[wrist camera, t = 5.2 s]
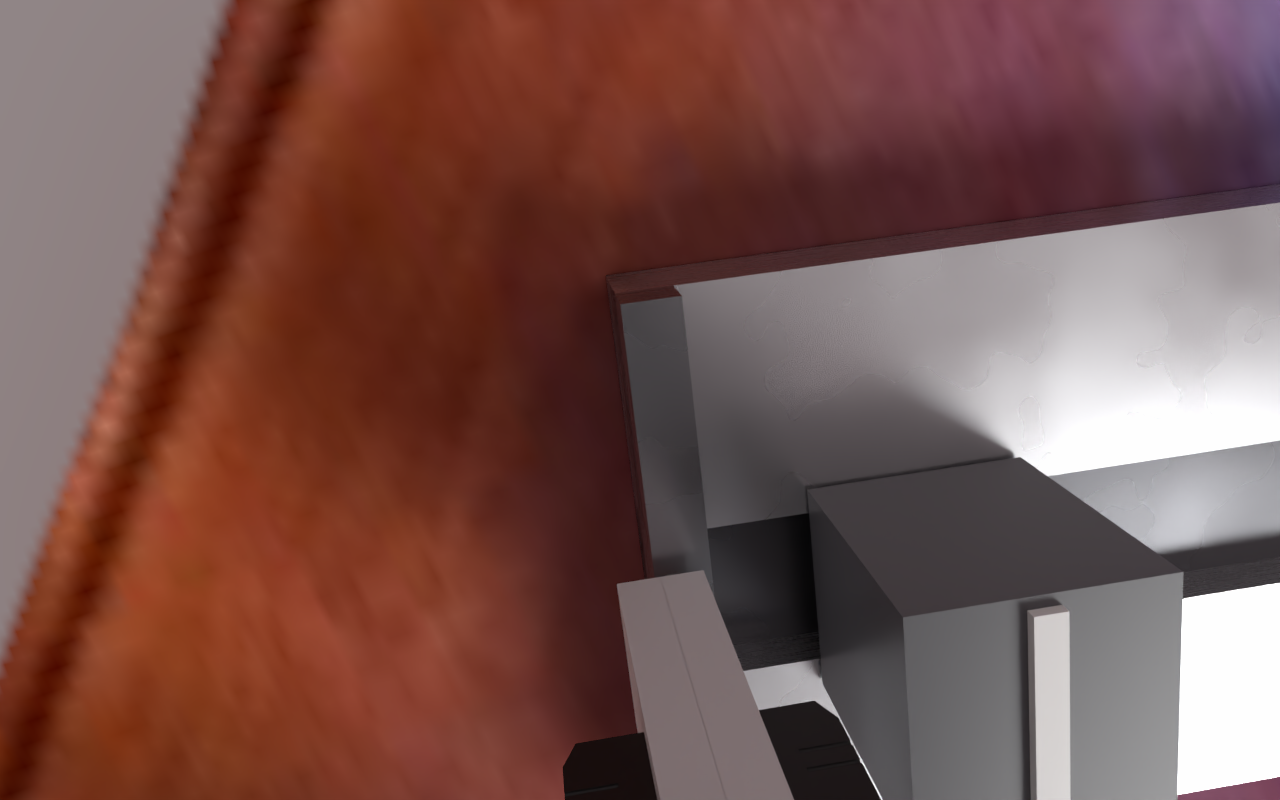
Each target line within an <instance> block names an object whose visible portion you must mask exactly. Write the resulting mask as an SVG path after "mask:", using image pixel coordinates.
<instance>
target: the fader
mask: <svg viewBox="0 0 1280 800" xmlns="http://www.w3.org/2000/svg"><path fill="white" fill-rule="evenodd" d="M807 492H808V505H809V518H810V530H811V543H812V555H813V568H814V581H815V593H816V606H817V619H818V631H819V644H820V656H821V669H822V682H823V686H824V688H825V690H826V692H827V694H828V695H829V697H830V699H831V701H832V703H833V705H834V707H835V709H836V711H837V713H838V715H839V716H840V718H841V720H842V722H843V724H844V726H845V728H846V730H847V732H848V734H849V736H850V738H851V739H852V741H853V743H854V745H855V747H856V749H857V751H858V753H859V755H860V757H861V759H862V760H863V762H864V764H865V766H866V768H867V770H868V772H869V774H870V776H871V778H872V780H873V781H874V783H875V785H876V787H877V789H878V791H879V793H880V795H881V797H882V799H883V800H1177V794H1178V757H1179V720H1180V683H1181V646H1182V609H1183V571H1182V570H1180V569H1179V568H1177V567H1176V566H1174V565H1173V564H1172V563H1170V562H1169V561H1167V560H1166V559H1164V558H1163V557H1162V556H1160V555H1159V554H1157V553H1156V552H1155V551H1153V550H1152V549H1150V548H1149V547H1147V546H1146V545H1145V544H1143V543H1142V542H1140V541H1139V540H1137V539H1136V538H1135V537H1133V536H1132V535H1130V534H1129V533H1128V532H1126V531H1125V530H1123V529H1122V528H1120V527H1119V526H1118V525H1116V524H1115V523H1113V522H1112V521H1110V520H1109V519H1108V518H1106V517H1105V516H1103V515H1102V514H1101V513H1099V512H1098V511H1096V510H1095V509H1093V508H1092V507H1091V506H1089V505H1088V504H1086V503H1085V502H1083V501H1082V500H1081V499H1079V498H1078V497H1076V496H1075V495H1074V494H1072V493H1071V492H1069V491H1068V490H1066V489H1065V488H1064V487H1062V486H1061V485H1059V484H1058V483H1056V482H1055V481H1054V480H1052V479H1051V478H1049V477H1048V476H1047V475H1045V474H1044V473H1042V472H1041V471H1039V470H1038V469H1037V468H1035V467H1034V466H1032V465H1031V464H1029V463H1028V462H1027V461H1025V460H1024V459H1022V458H1021V457H1018V458H1011V459H1004V460H998V461H991V462H985V463H978V464H972V465H965V466H958V467H952V468H945V469H939V470H932V471H926V472H919V473H913V474H906V475H899V476H893V477H886V478H880V479H873V480H867V481H860V482H854V483H847V484H840V485H834V486H827V487H821V488H814V489H808V490H807Z"/></svg>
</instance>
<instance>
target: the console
mask: <svg viewBox="0 0 1280 800" xmlns="http://www.w3.org/2000/svg"><path fill="white" fill-rule="evenodd" d="M606 281H607V289H608V297H609V305H610V313H611V320H612V328H613V336H614V344H615V352H616V359H617V367H618V375H619V383H620V391H621V398H622V406H623V414H624V422H625V430H626V437H627V445H628V453H629V461H630V469H631V476H632V484H633V492H634V500H635V508H636V515H637V523H638V531H639V539H640V547H641V554H642V562H643V570H644V578H645V579H650V578H657V577H663V576H669V575H676V574H682V573H688V572H694V571H701V570H704V573H705V575H706V578H707V580H708V583H709V585H710V588H711V591H712V593H713V596H714V598H715V601H716V603H717V606H718V608H719V611H720V613H721V616H722V618H723V621H724V623H725V626H726V629H727V631H728V634H729V636H730V639H731V641H732V644H733V646H734V649H735V651H736V654H737V656H738V659H739V661H740V664H741V667H742V669H743V672H744V674H745V677H746V679H747V682H748V684H749V687H750V689H751V692H752V694H753V697H754V700H755V702H756V705H757V707H758V710H762V709H768V708H774V707H780V706H786V705H792V704H798V703H803V702H809V701H816V702H817V703H819V704H820V705H821V706H823V707H824V708H825V709H827V710H828V711H830V712H831V713H832V714H834V715H835V716H837V717H838V718H839V720H840V722H841V724H842V725H843V727H844V729H845V731H846V733H847V735H848V737H849V739H850V742H851V745H853V747H854V749H855V750H856V752H857V754H858V756H859V758H860V763H862V764H863V766H864V768H865V770H866V772H867V774H868V775H869V777H870V779H871V781H872V783H873V785H874V787H875V789H876V791H877V793H878V795H879V797H880V799H881V800H883V799H882V797H881V795H880V793H879V791H878V789H877V787H876V785H875V783H874V781H873V780H872V778H871V776H870V774H869V772H868V770H867V768H866V766H865V764H864V762H863V760H862V759H861V757H860V755H859V753H858V751H857V749H856V747H855V745H854V743H853V741H852V739H851V738H850V736H849V734H848V732H847V730H846V728H845V726H844V724H843V722H842V720H841V718H840V716H839V715H838V713H837V711H836V709H835V707H834V705H833V703H832V701H831V699H830V697H829V695H828V694H827V692H826V690H825V688H824V686H823V682H822V669H821V656H820V644H819V631H818V619H817V606H816V593H815V581H814V568H813V555H812V543H811V530H810V518H809V505H808V492H807V490H808V489H814V488H821V487H827V486H834V485H840V484H847V483H854V482H860V481H867V480H873V479H880V478H886V477H893V476H899V475H906V474H913V473H919V472H926V471H932V470H939V469H945V468H952V467H958V466H965V465H972V464H978V463H985V462H991V461H998V460H1004V459H1011V458H1018V457H1021V458H1022V459H1024V460H1025V461H1027V462H1028V463H1029V464H1031V465H1032V466H1034V467H1035V468H1037V469H1038V470H1039V471H1041V472H1042V473H1044V474H1045V475H1047V476H1048V477H1049V478H1051V479H1052V480H1054V481H1055V482H1056V483H1058V484H1059V485H1061V486H1062V487H1064V488H1065V489H1066V490H1068V491H1069V492H1071V493H1072V494H1074V495H1075V496H1076V497H1078V498H1079V499H1081V500H1082V501H1083V502H1085V503H1086V504H1088V505H1089V506H1091V507H1092V508H1093V509H1095V510H1096V511H1098V512H1099V513H1101V514H1102V515H1103V516H1105V517H1106V518H1108V519H1109V520H1110V521H1112V522H1113V523H1115V524H1116V525H1118V526H1119V527H1120V528H1122V529H1123V530H1125V531H1126V532H1128V533H1129V534H1130V535H1132V536H1133V537H1135V538H1136V539H1137V540H1139V541H1140V542H1142V543H1143V544H1145V545H1146V546H1147V547H1149V548H1150V549H1152V550H1153V551H1155V552H1156V553H1157V554H1159V555H1160V556H1162V557H1163V558H1164V559H1166V560H1167V561H1169V562H1170V563H1172V564H1173V565H1174V566H1176V567H1177V568H1179V569H1180V570H1182V571H1183V609H1182V646H1181V683H1180V720H1179V757H1178V794H1184V793H1189V792H1195V791H1201V790H1206V789H1212V788H1218V787H1223V786H1229V785H1234V784H1240V783H1246V782H1251V781H1257V780H1262V779H1268V778H1274V777H1279V776H1280V184H1276V185H1269V186H1262V187H1254V188H1247V189H1239V190H1232V191H1225V192H1217V193H1210V194H1203V195H1195V196H1188V197H1180V198H1173V199H1166V200H1158V201H1151V202H1144V203H1136V204H1129V205H1121V206H1114V207H1107V208H1099V209H1092V210H1085V211H1077V212H1070V213H1062V214H1055V215H1048V216H1040V217H1033V218H1026V219H1018V220H1011V221H1003V222H996V223H989V224H981V225H974V226H967V227H959V228H952V229H944V230H937V231H930V232H922V233H915V234H908V235H900V236H893V237H885V238H878V239H871V240H863V241H856V242H848V243H841V244H834V245H826V246H819V247H812V248H804V249H797V250H789V251H782V252H775V253H767V254H760V255H753V256H745V257H738V258H730V259H723V260H716V261H708V262H701V263H694V264H686V265H679V266H671V267H664V268H657V269H649V270H642V271H635V272H627V273H620V274H612V275H606ZM1178 794H1177V795H1178Z"/></svg>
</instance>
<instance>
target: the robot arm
mask: <svg viewBox="0 0 1280 800" xmlns="http://www.w3.org/2000/svg"><path fill="white" fill-rule="evenodd" d="M617 590H618V597H619V605H620V612H621V619H622V626H623V633H624V640H625V648H626V655H627V662H628V669H629V676H630V683H631V691H632V698H633V705H634V712H635V719H636V726H637V731H638V733H636V734H630V735H624V736H618V737H612V738H606V739H600V740H594V741H589V742H583V743H577V744H575V746H574V748H573V750H572V752H571V753H570V755H569V757H568V759H567V761H566V763H565V765H564V766H563V778H564V793H565V800H881V799H880V797H879V795H878V793H877V791H876V789H875V787H874V785H873V783H872V781H871V779H870V777H869V775H868V774H867V772H866V770H865V768H864V766H863V764H862V763H860V758H859V756H858V754H857V752H856V750H855V749H854V747H853V745H851V742H850V739H849V737H848V735H847V733H846V731H845V729H844V727H843V725H842V724H841V722H840V720H839V718H838V717H837V716H835V715H834V714H832V713H831V712H830V711H828V710H827V709H825V708H824V707H823V706H821V705H820V704H819V703H817V702H816V701H809V702H803V703H798V704H792V705H786V706H780V707H774V708H768V709H762V710H758V707H757V705H756V702H755V700H754V697H753V694H752V692H751V689H750V687H749V684H748V682H747V679H746V677H745V674H744V672H743V669H742V667H741V664H740V661H739V659H738V656H737V654H736V651H735V649H734V646H733V644H732V641H731V639H730V636H729V634H728V631H727V629H726V626H725V623H724V621H723V618H722V616H721V613H720V611H719V608H718V606H717V603H716V601H715V598H714V596H713V593H712V591H711V588H710V585H709V583H708V580H707V578H706V575H705V573H704V570H701V571H694V572H688V573H682V574H676V575H669V576H663V577H657V578H650V579H644V580H638V581H632V582H625V583H619V584H617Z"/></svg>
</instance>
